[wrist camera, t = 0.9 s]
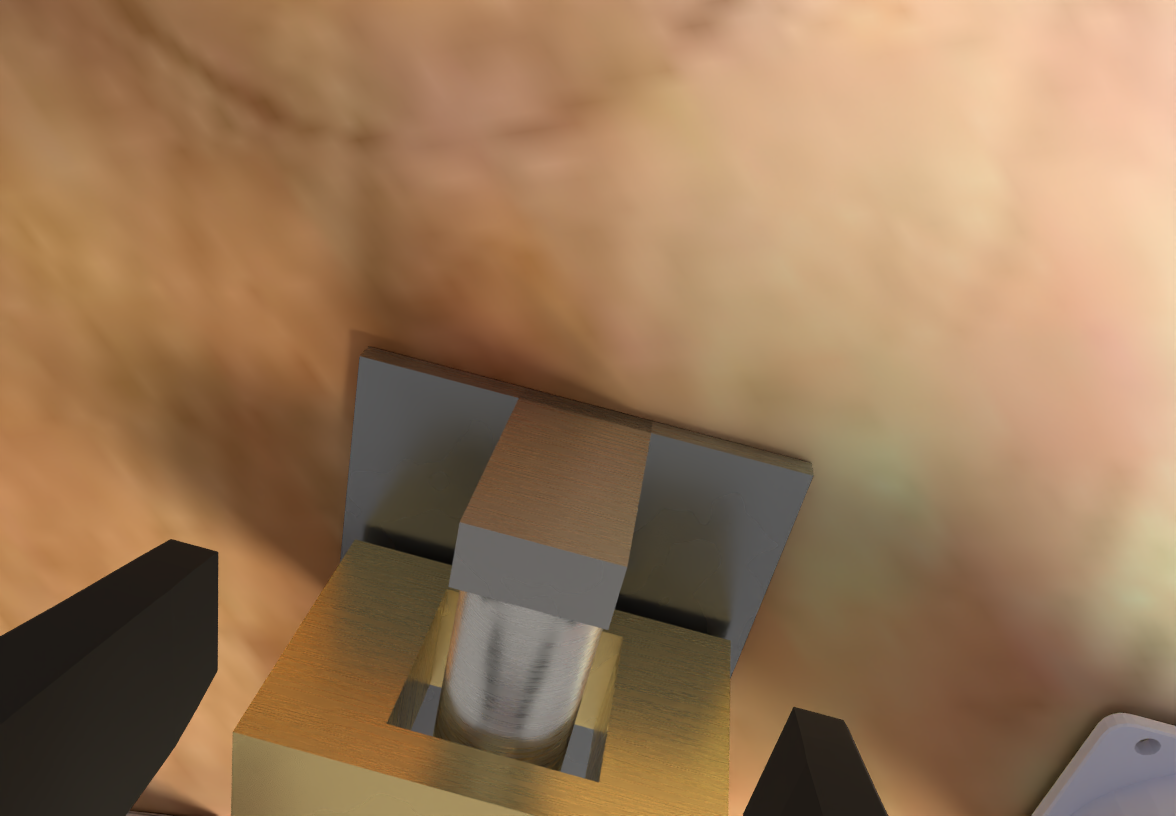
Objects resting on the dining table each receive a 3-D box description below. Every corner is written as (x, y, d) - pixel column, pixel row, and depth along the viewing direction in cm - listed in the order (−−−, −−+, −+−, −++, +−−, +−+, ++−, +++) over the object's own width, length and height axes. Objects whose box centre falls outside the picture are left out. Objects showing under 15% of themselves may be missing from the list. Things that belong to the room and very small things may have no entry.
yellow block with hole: (355, 539, 20) (232, 732, 15) (730, 640, 20) (727, 869, 15) (345, 634, 22) (230, 838, 17) (694, 730, 21) (681, 964, 17)
